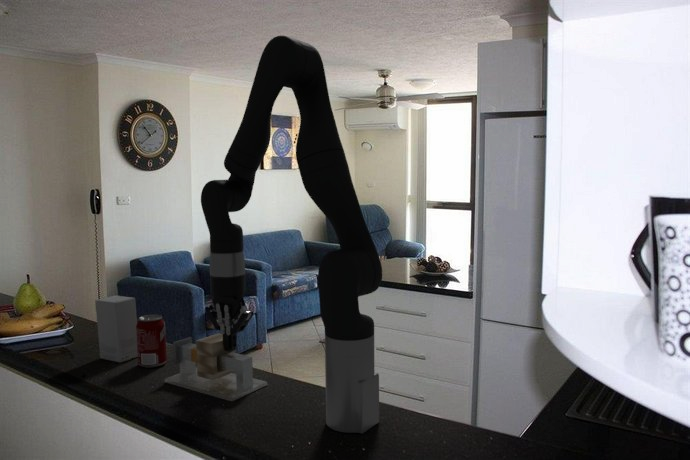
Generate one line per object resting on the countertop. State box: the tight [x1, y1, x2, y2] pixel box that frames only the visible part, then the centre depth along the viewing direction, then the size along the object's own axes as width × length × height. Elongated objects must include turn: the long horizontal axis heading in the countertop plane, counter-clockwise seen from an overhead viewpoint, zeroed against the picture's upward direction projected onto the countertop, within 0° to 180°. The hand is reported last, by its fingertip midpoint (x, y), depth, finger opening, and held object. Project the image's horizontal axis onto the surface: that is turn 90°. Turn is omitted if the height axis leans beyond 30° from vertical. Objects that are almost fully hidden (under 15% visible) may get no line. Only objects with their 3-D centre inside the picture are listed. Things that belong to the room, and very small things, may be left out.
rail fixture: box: [164, 336, 268, 402], centre depth 134 cm, size 21×11×8 cm, turn 56°
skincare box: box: [94, 294, 138, 364], centre depth 152 cm, size 8×7×16 cm
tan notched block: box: [195, 332, 236, 380], centre depth 133 cm, size 5×7×8 cm
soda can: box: [136, 314, 168, 369], centre depth 147 cm, size 7×7×12 cm
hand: (229, 350), depth 130 cm, fingers closed
